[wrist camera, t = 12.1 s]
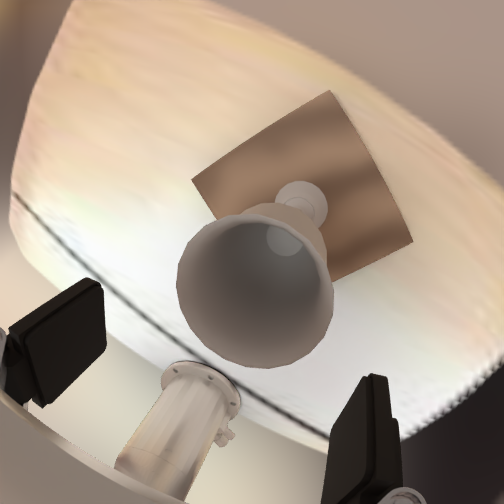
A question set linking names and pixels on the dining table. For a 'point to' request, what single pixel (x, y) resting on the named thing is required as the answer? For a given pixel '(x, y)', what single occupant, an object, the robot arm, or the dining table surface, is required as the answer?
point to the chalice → (260, 280)
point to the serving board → (313, 182)
